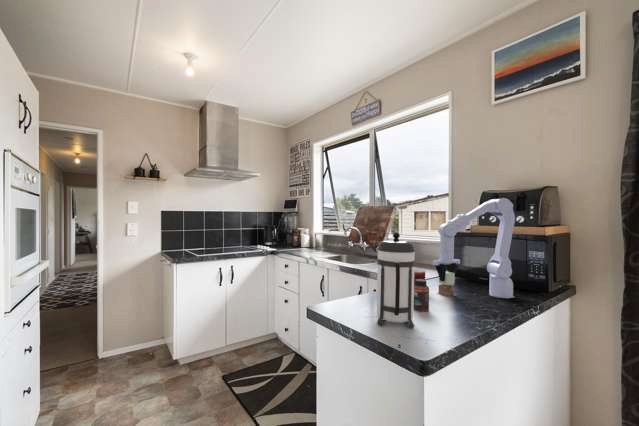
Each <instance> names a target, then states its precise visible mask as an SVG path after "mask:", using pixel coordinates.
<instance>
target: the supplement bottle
mask: <svg viewBox="0 0 639 426" xmlns="http://www.w3.org/2000/svg"><path fill="white" fill-rule="evenodd" d="M415 283H416V284H415V285H414V310H413V311H417V312H425V313H426V312H429V310H430V287H429V286H428V285H427V280H426V279H425V280H424V279H416V280H415Z"/></svg>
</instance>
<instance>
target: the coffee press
mask: <svg viewBox="0 0 639 426" xmlns="http://www.w3.org/2000/svg"><path fill="white" fill-rule="evenodd" d="M392 237H393V239H385V240H382V241H380V242H379V243H378V245H377V247H376V252H377V259H376V264H377V271H376V272H377V274H376V275H377V277H376V279H377V281H376V283H377V284H376V286H377V287H376V314H377V316H378V317H379V318H378V320H377V325H379V326H381V327H382V326H384V324H385V323H386V322H391V323H404V324H405V325H406V326H407V328H408V329H413V328H414V327H415V324H414V323H413V318H414V311H415V310H414V269H415V266H416V259H415V255H416V252H417V248H415V245H414V244H413V243H412V242H411V241H409V240H405V239H404V240H402V239H399V238H400V237H401V236H400V233H399V232H394V233H393V235H392Z"/></svg>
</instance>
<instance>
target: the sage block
mask: <svg viewBox="0 0 639 426" xmlns="http://www.w3.org/2000/svg"><path fill="white" fill-rule="evenodd" d="M455 274H456V272H455V273H452V272H448V271H447V270H446V274H445V281H440V279H439V278H438V280H439V281H438V283H439V284H444V285H452V286H455V277H456V276H455Z"/></svg>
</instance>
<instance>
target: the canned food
mask: <svg viewBox="0 0 639 426" xmlns="http://www.w3.org/2000/svg"><path fill="white" fill-rule="evenodd" d="M416 279H424V280H426V270H425V269H421V268H414V285H415V284H416V283H415V280H416Z"/></svg>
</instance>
